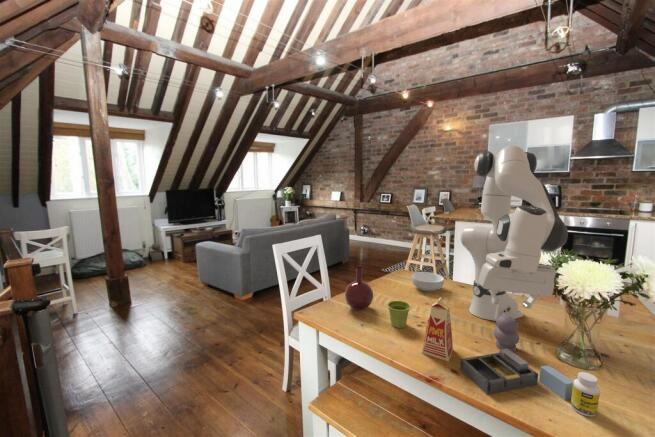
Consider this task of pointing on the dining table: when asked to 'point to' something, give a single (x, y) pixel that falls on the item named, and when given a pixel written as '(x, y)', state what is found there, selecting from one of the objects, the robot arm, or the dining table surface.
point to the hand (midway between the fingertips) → (510, 305)
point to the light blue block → (556, 382)
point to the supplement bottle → (585, 394)
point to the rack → (499, 371)
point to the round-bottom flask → (359, 292)
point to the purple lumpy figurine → (506, 333)
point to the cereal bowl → (427, 281)
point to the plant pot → (398, 313)
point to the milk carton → (438, 332)
